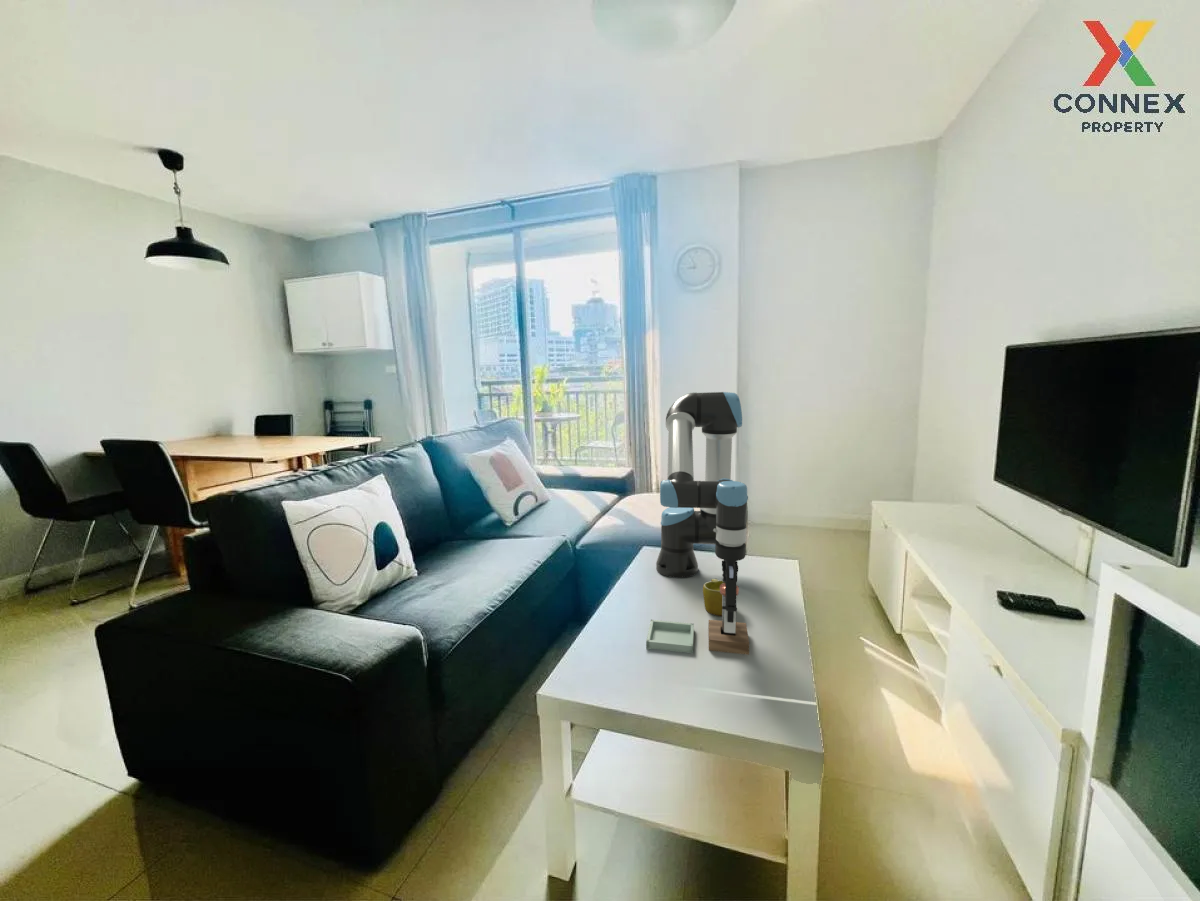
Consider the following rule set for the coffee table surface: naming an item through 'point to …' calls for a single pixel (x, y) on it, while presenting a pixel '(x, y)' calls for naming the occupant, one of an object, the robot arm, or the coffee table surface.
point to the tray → (670, 636)
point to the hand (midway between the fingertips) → (728, 618)
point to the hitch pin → (722, 591)
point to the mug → (713, 597)
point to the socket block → (728, 638)
